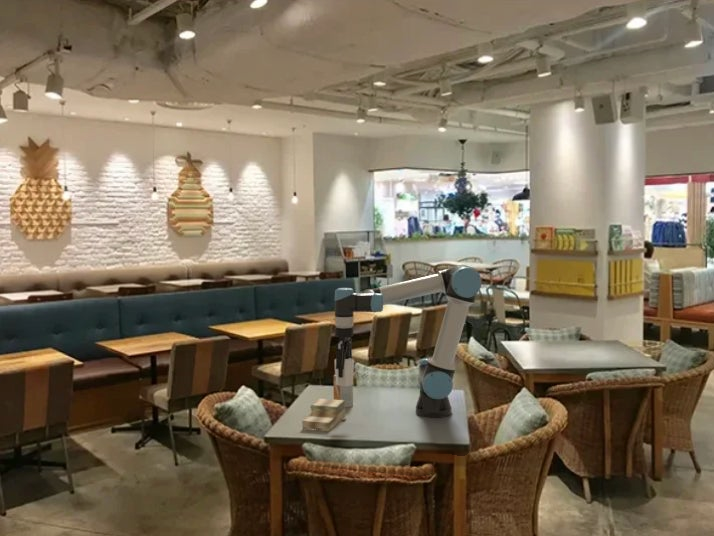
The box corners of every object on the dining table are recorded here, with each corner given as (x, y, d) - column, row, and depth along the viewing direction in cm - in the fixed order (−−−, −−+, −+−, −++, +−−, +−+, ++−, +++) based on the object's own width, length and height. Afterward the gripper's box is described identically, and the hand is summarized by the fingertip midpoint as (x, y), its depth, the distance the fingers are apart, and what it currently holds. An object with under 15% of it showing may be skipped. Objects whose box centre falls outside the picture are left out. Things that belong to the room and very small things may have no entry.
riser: (349, 416, 272) (348, 400, 271) (333, 432, 253) (333, 414, 252) (319, 414, 276) (319, 398, 275) (302, 429, 256) (301, 411, 256)
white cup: (352, 387, 258) (352, 362, 258) (332, 386, 260) (332, 361, 259) (355, 382, 266) (355, 358, 265) (336, 381, 267) (336, 357, 267)
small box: (333, 403, 293) (333, 374, 292) (346, 401, 295) (346, 373, 294) (340, 407, 285) (339, 378, 284) (353, 406, 288) (353, 377, 287)
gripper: (342, 322, 272) (342, 376, 274) (327, 330, 252) (327, 388, 254) (359, 323, 270) (359, 377, 272) (345, 331, 250) (346, 389, 252)
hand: (344, 382), depth 263 cm, fingers closed on white cup, 7 cm apart
